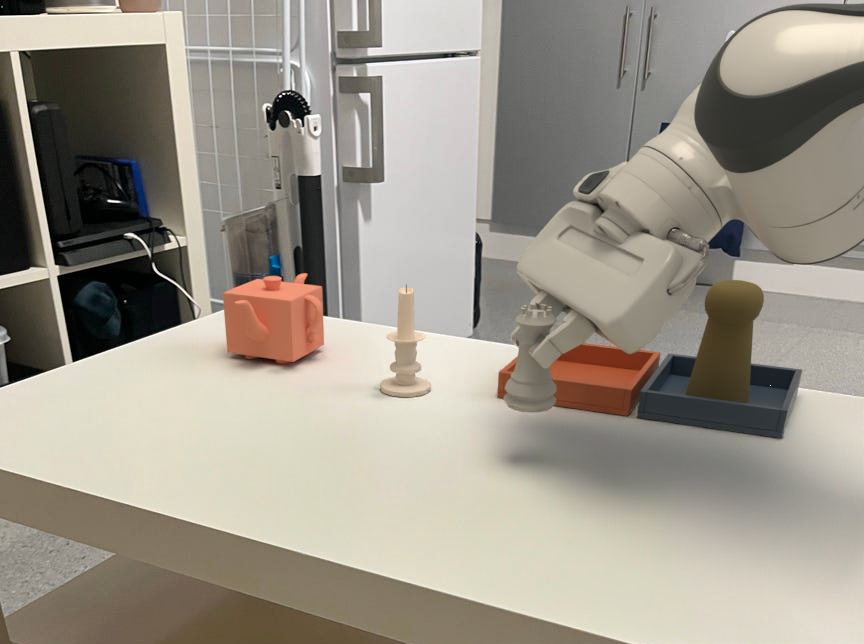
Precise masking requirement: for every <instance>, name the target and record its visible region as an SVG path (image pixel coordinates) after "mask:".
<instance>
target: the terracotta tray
mask: <svg viewBox="0 0 864 644" xmlns="http://www.w3.org/2000/svg"><path fill="white" fill-rule="evenodd" d="M517 357H518V355H517V356H515V357H514V359H512V360H511V361H510V362H508V363H507V364H506V365H505V366H504V367H502V368H501V369H500V370H499V371H498V379H497V398H500V399H503V398H504V396H505V395H506V394H507V391H506V390H505V386H506V383H507V381H508V380H509V379H510V378H511V374H512V373H513V372H514V369H515V366H516V361H517ZM660 359H661V352H659V351H652V350H645V349H644V350H643V349H641V350H639V351H637V352H635V353H632V354H628V353H626V352H624V351H623V350H621V349H620V348H618V347H617V346H611V345H603V344H594V343H587V342H584V343H583V344H581V345H579V346H577V347H575V348H573V349H572V350H570V351H568V352H566V353H564V354H561V356H560V357H559V358H558V359H557V360H556V361H555V362H554V363H553V364H552V365H551V366H550V367H549V368H550V374H551V375H552V376H553V377H552V381H553V382H554V383H555V384H556V388H557V390H556V393H555V394H554V395H553V396H554V397H555V398H556V399H557V400H556V403H555V404H554V405H553V406H555V407H561V408H562V407H563V408H570V409H576V410H582V411H590V412H597V413H605V414H611V415H617V416H618V415H619V416H625V417H629V416H630V414H631V412H632V411H633V410H634V409H635V407H636V406H637V405H638V403H639V396H640V391H641V390H642V388H643V387H644V386H645V384H646V383H647V382H648V380H649V379H650V378H651V376H652V375H653V374H654V372H655V371H656V370H657V368H658V367H659V366H660V361H661V360H660Z"/></svg>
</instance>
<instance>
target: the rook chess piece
mask: <svg viewBox="0 0 864 644" xmlns="http://www.w3.org/2000/svg"><path fill="white" fill-rule="evenodd" d="M529 305H530V310H527V309H528V307H529ZM529 305H528V304H523V305H521V307H520V312H519V314H518V315H517V317H516V318H514V319H515V322H516V323H517V326H518V325H519V327H520V335H519V336H518V337H517V339H518V341H519V348H518V352H517V356H518V357H517V356H516V357H517V361H516V366H515V369H514V372H513V373H512V374H511V378H510V379H509V380H508V381H507V383H506V386H505V390H506V391H507V394H506V395H505V396H504V398H502V399H503V401H504V403H505V404H506V406H507V407H508V408H509V409H511V410H513V411H517V412H520V413H531V414H533V413H542V412H547V411H548V410H551V409H552V408H553V407H554V406H555V405H554V404H555V403H556V400H557V399H556V398H555V397H554V396H553V395H554V394H555V393H556V390H557V388H556V384H555V383H554V382H553V381H552V377H553V376H552V375H551V374H550V368H543V367H541V366H540V365H539V364H538V363H537V362H536V361H535V360H534V359H533V358H532V357H531V356H530V355H529V354H528V350H529V347H530V346H531V345H533V344H534V343H535V341H536V340H537V339H538V338H539V337H540V336H541V335H543V336H544V337H546V336H547V335H549V334H550V333H551V329H552V328H553V326H554V325H555V324H556V323H557V319H556V318H555V317H554V316H553V314H552V310H553V308H552V307H551V306H550V307H548V310H547V305H544V304H541V308H540V310H537V309H536V304H530V303H529Z"/></svg>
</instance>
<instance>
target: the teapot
mask: <svg viewBox="0 0 864 644" xmlns="http://www.w3.org/2000/svg"><path fill="white" fill-rule="evenodd" d="M308 276H309V275H308V273H306V272H303V273H300V274H298V275H297V276H295V278H294V280H293V282H289V281H282V280H283V279H282V277H281V276H278V275H267V276H265V277H262V278H256V279H253V280H251V281H249V282H246V283H243V284H241V285H238V286H235V287H233V288H230V289H229V290H226V291H224V292H223V293H222V303H223V315H224V325H225V326H224V327H225V338H226V349H227V351H226V352H227V353H228V354H236V355H242V356H245V359H247V360H256V359H260V358H264V359H270V360H275V363H277V364H289V363H291V362H292V363H294V362H296V361H297V360H299V359H301V358H303V357H305V356H306V355H308V354H310V353H312V352H314V351H316V350H318V349H319V348H322V347H323V346H324V345H325V330H324V329H325V328H324V300H323V286H321V285H315V284H305V280H306V279H307V277H308Z"/></svg>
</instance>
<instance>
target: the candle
mask: <svg viewBox="0 0 864 644" xmlns="http://www.w3.org/2000/svg"><path fill="white" fill-rule="evenodd" d="M397 297H398V299H397V331H392V332H389V333H387V334H386V339H387V340H389V341H391V342H394V346H395V350H394V359H395V361H393V362H391V363H390V364H389V370H390V371H391V372H392V373H394V374H395V376H390V377H387V378H385V379H383V380H382V381H380V383H379V389H380V392H382V393H383V394H385V395H388V396H391V397H397V398H415V397H420V396H423V395H426V394H428V393H430V392H431V388H432V383H431V382H430V381H429V380H428V379H427V378H423V377H419V376H416V374H417V373H419V372H421V371H422V364H421V363H420V362H418V361H417V355H418V350H417V347H418V346H417V345H418V343H419V342H421V341H423V340H425V339H426V335H425V334H424V333H423V332H419V331H415V290H414V288H412V287H408V284H407V283H406V284H405V286H404V287H401V288H399V290H398V296H397Z"/></svg>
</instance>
